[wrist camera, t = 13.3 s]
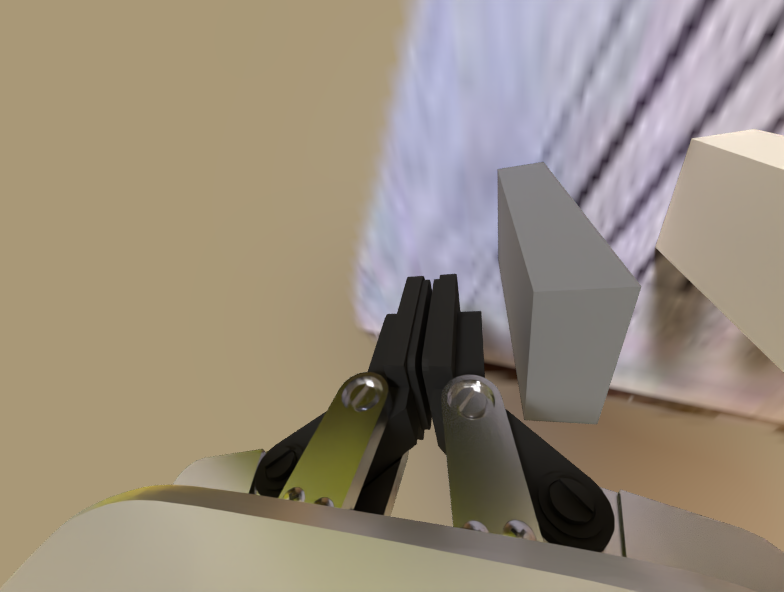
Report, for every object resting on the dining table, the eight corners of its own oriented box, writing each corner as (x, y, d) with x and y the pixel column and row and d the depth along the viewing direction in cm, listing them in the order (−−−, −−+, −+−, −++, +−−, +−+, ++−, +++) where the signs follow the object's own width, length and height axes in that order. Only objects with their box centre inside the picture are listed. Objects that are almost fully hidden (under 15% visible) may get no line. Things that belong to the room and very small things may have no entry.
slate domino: (498, 259, 17) (524, 419, 9) (497, 169, 14) (533, 291, 7) (536, 256, 17) (596, 424, 9) (543, 161, 14) (641, 286, 6)
